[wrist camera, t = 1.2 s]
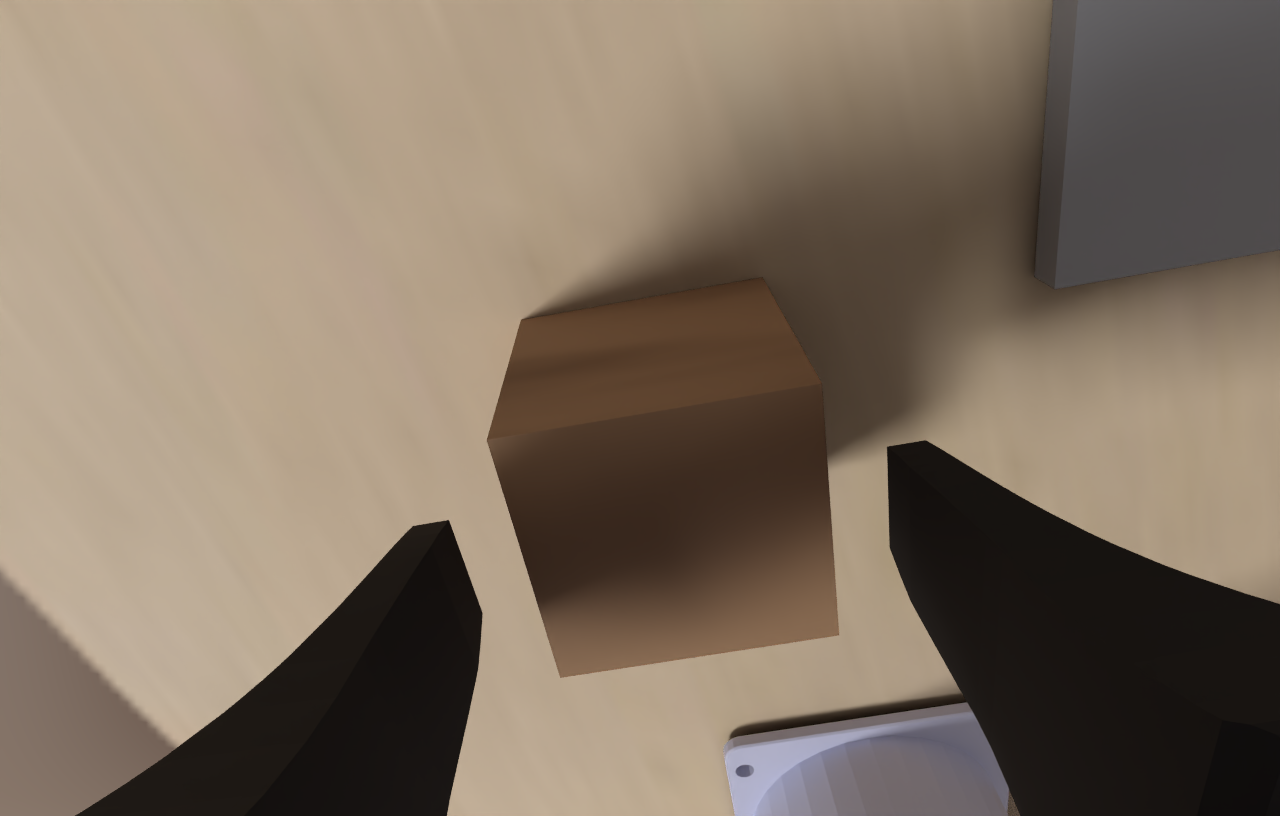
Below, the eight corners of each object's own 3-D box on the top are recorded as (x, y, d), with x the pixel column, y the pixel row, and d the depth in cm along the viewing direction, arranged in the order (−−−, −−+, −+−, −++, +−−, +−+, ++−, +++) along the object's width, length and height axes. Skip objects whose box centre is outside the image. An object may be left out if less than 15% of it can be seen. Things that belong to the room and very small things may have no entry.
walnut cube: (782, 479, 18) (839, 635, 13) (572, 513, 18) (560, 678, 14) (761, 276, 16) (822, 383, 11) (521, 318, 16) (486, 439, 11)
